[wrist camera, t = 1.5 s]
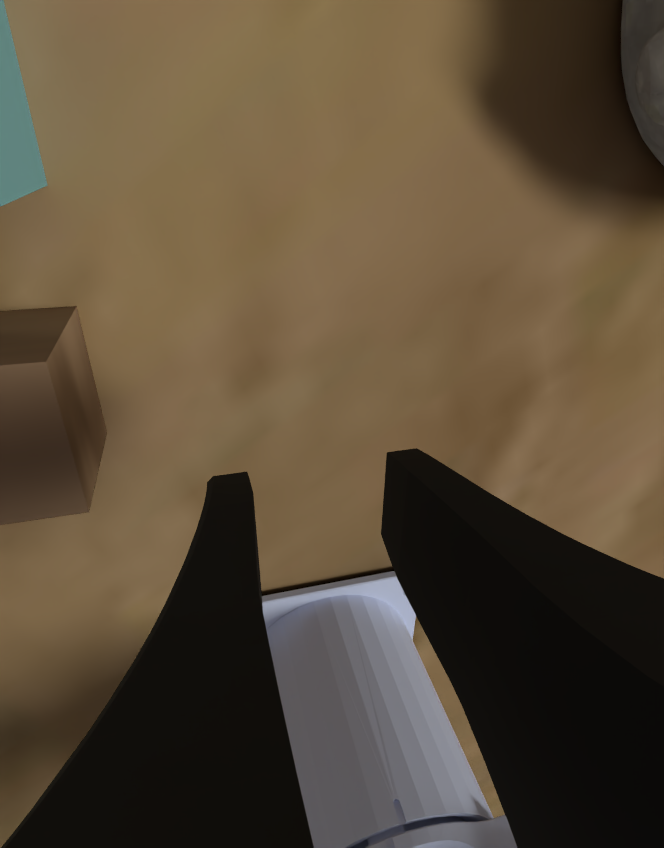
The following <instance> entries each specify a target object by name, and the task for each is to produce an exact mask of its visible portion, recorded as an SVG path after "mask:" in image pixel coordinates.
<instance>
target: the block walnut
mask: <svg viewBox="0 0 664 848" xmlns="http://www.w3.org/2000/svg"><path fill="white" fill-rule="evenodd" d="M106 435H107V431H106V427H105V423H104V419H103V415H102V410H101V406H100V402H99V398H98V394H97V390H96V385H95V381H94V377H93V373H92V369H91V365H90V360H89V356H88V352H87V348H86V344H85V340H84V335H83V331H82V327H81V323H80V319H79V315H78V310H77V306H74V307H58V308H42V309H26V310H10V311H0V525H3V524H10V523H17V522H24V521H31V520H38V519H45V518H52V517H59V516H66V515H73V514H80V513H87V512H89V510H90V506H91V501H92V497H93V492H94V488H95V483H96V479H97V475H98V470H99V466H100V461H101V457H102V453H103V448H104V444H105V439H106Z"/></svg>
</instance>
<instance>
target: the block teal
mask: <svg viewBox="0 0 664 848" xmlns="http://www.w3.org/2000/svg"><path fill="white" fill-rule="evenodd" d="M45 186H47V182H46V177H45V173H44V169H43V165H42V161H41V156H40V152H39V148H38V144H37V140H36V135H35V131H34V127H33V123H32V119H31V114H30V110H29V106H28V102H27V98H26V93H25V89H24V85H23V81H22V77H21V73H20V68H19V64H18V60H17V56H16V52H15V47H14V43H13V39H12V35H11V31H10V26H9V22H8V18H7V14H6V10H5V5H4V1H3V0H0V206H3V205H5V204H7V203H9V202H12V201H14V200H16V199H18V198H21V197H23V196H25V195H27V194H29V193H32V192H34V191H36V190H38V189H41V188H43V187H45Z"/></svg>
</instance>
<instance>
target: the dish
mask: <svg viewBox="0 0 664 848" xmlns="http://www.w3.org/2000/svg"><path fill="white" fill-rule="evenodd" d="M621 63H622V74H623V80H624V86H625V92H626V98H627V101H628V104H629V107H630V110H631V113H632V116H633V118H634V120H635V123H636V125H637V128H638V130H639V132H640V135H641V137H642V139H643V141H644V142H645V143H646V145H647V146H648V147H649V149H650V150H651V152H652V153H653V154H654V156H655V157H656V158H657V159H658V160H659V161H660V162H661V164H662V165H663V166H664V0H623V4H622V22H621Z"/></svg>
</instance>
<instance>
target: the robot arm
mask: <svg viewBox="0 0 664 848" xmlns="http://www.w3.org/2000/svg"><path fill="white" fill-rule="evenodd" d="M381 535H382V538H383V541H384V544H385V546H386V549H387V552H388V555H389V558H390V561H391V563H392V566H393V569H394V571H391V572H385V573H380V574H375V575H370V576H365V577H359V578H354V579H349V580H344V581H338V582H333V583H328V584H323V585H317V586H312V587H307V588H302V589H296V590H291V591H286V592H281V593H276V594H270V595H265V596H262V594H261V582H260V570H259V558H258V546H257V534H256V522H255V510H254V498H253V491H252V487H251V483H250V480H249V476H248V473H247V472H241V473H234V474H227V475H219V476H213V477H212V478H211V479H210V480H209V481H208V482H207V492H206V497H205V502H204V506H203V510H202V514H201V517H200V520H199V523H198V527H197V530H196V532H195V535H194V538H193V540H192V543H191V546H190V548H189V551H188V554H187V557H186V559H185V561H184V564H183V566H182V568H181V571H180V573H179V575H178V577H177V579H176V582H175V584H174V586H173V588H172V590H171V593H170V595H169V597H168V599H167V601H166V603H165V605H164V607H163V609H162V611H161V613H160V615H159V617H158V619H157V621H156V623H155V625H154V627H153V628H152V630H151V632H150V634H149V636H148V638H147V639H146V641H145V643H144V645H143V646H142V648H141V650H140V652H139V653H138V655H137V657H136V659H135V660H134V662H133V664H132V665H131V667H130V668H129V670H128V672H127V673H126V675H125V676H124V678H123V680H122V681H121V683H120V684H119V686H118V687H117V689H116V691H115V692H114V694H113V695H112V697H111V699H110V700H109V702H108V703H107V705H106V706H105V708H104V709H103V711H102V712H101V714H100V715H99V717H98V718H97V720H96V721H95V723H94V724H93V726H92V727H91V729H90V730H89V732H88V733H87V735H86V736H85V737H84V739H83V740H82V741H81V743H80V744H79V746H78V747H77V748H76V750H75V751H74V752H73V754H72V755H71V756H70V758H69V759H68V760H67V762H66V763H65V765H64V766H63V767H62V769H61V770H60V771H59V773H58V774H57V775H56V777H55V778H54V780H53V781H52V782H51V784H50V785H49V786H48V788H47V789H46V790H45V792H44V793H43V795H42V796H41V797H40V799H39V800H38V801H37V803H36V804H35V805H34V807H33V808H32V809H31V811H30V812H29V813H28V815H27V816H26V817H25V818H24V820H23V821H22V822H21V824H20V825H19V826H18V827H17V829H16V830H15V831H14V833H13V834H12V835H11V836H10V838H9V839H8V840H7V841H6V842H5V844H4V845H3V846H2V847H1V848H664V579H663V578H661V577H658V576H655V575H653V574H650V573H648V572H645V571H643V570H640V569H638V568H636V567H633V566H631V565H628V564H626V563H624V562H621V561H619V560H617V559H615V558H613V557H610V556H608V555H606V554H604V553H602V552H599V551H597V550H595V549H593V548H591V547H588V546H586V545H584V544H582V543H580V542H578V541H576V540H574V539H572V538H570V537H568V536H566V535H564V534H562V533H560V532H558V531H556V530H554V529H552V528H550V527H549V526H547V525H545V524H543V523H541V522H539V521H537V520H536V519H534V518H532V517H530V516H528V515H526V514H525V513H523V512H521V511H519V510H518V509H516V508H514V507H512V506H511V505H509V504H507V503H506V502H504V501H502V500H500V499H499V498H497V497H495V496H494V495H492V494H490V493H489V492H487V491H486V490H484V489H482V488H481V487H479V486H477V485H476V484H474V483H473V482H471V481H469V480H468V479H466V478H465V477H463V476H461V475H460V474H458V473H457V472H455V471H453V470H452V469H450V468H449V467H447V466H445V465H444V464H442V463H441V462H439V461H437V460H436V459H434V458H433V457H431V456H429V455H428V454H426V453H424V452H422V451H420V450H419V449H417V448H416V449H409V450H402V451H394V452H387V459H386V473H385V487H384V501H383V515H382V529H381ZM416 616H417V618H418V620H419V622H420V624H421V626H422V628H423V630H424V632H425V633H426V635H427V637H428V639H429V641H430V643H431V645H432V647H433V649H434V651H435V653H436V654H437V656H438V658H439V660H440V662H441V664H442V666H443V668H444V670H445V672H446V674H447V675H448V677H449V679H450V681H451V683H452V685H453V687H454V690H455V692H456V694H457V696H458V698H459V700H460V702H461V704H462V707H463V709H464V711H465V714H466V716H467V719H468V721H469V724H470V726H471V729H472V731H473V734H474V736H475V738H476V741H477V743H478V746H479V748H480V751H481V753H482V756H483V758H484V761H485V763H486V766H487V768H488V771H489V774H490V776H491V779H492V781H493V784H494V787H495V789H496V792H497V794H498V797H499V800H500V802H501V805H502V807H503V810H504V813H505V815H502V816H499V817H496V818H493V816H492V813H491V811H490V809H489V807H488V805H487V803H486V800H485V798H484V796H483V794H482V792H481V789H480V787H479V785H478V783H477V781H476V778H475V776H474V774H473V772H472V770H471V768H470V765H469V763H468V761H467V759H466V757H465V754H464V752H463V750H462V748H461V746H460V744H459V741H458V739H457V737H456V735H455V733H454V730H453V728H452V726H451V724H450V722H449V719H448V717H447V715H446V713H445V711H444V709H443V706H442V704H441V702H440V700H439V698H438V695H437V693H436V691H435V689H434V687H433V684H432V682H431V680H430V678H429V676H428V674H427V671H426V669H425V667H424V665H423V663H422V660H421V658H420V656H419V654H418V652H417V649H416V647H415V645H414V643H413V641H412V640H413V633H414V625H415V617H416Z"/></svg>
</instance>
